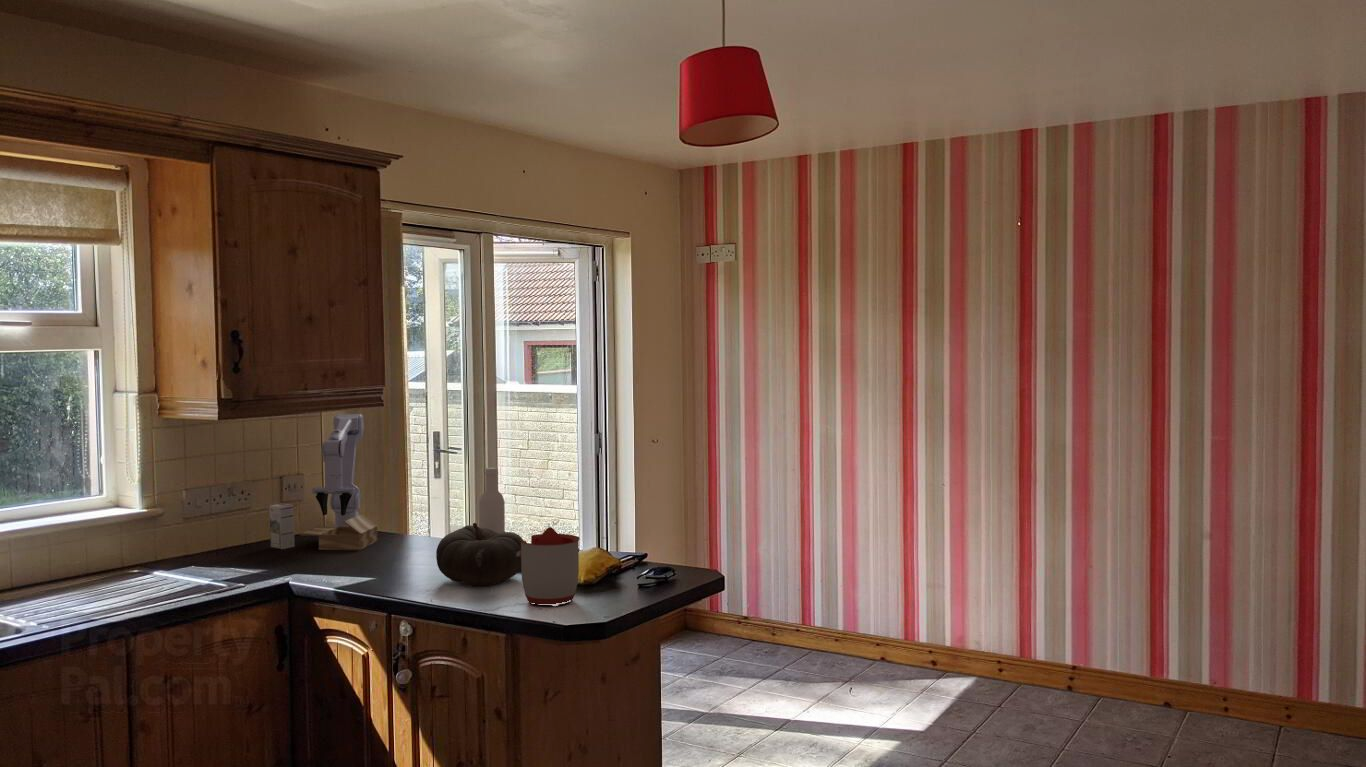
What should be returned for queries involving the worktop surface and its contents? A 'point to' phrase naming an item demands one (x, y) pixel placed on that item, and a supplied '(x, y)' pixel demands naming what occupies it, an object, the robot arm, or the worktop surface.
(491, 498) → the bottle
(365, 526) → the carton flap
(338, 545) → the carton
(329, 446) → the robot arm
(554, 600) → the citrus juicer
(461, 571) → the gourd
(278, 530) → the syrup box
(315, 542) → the worktop surface
